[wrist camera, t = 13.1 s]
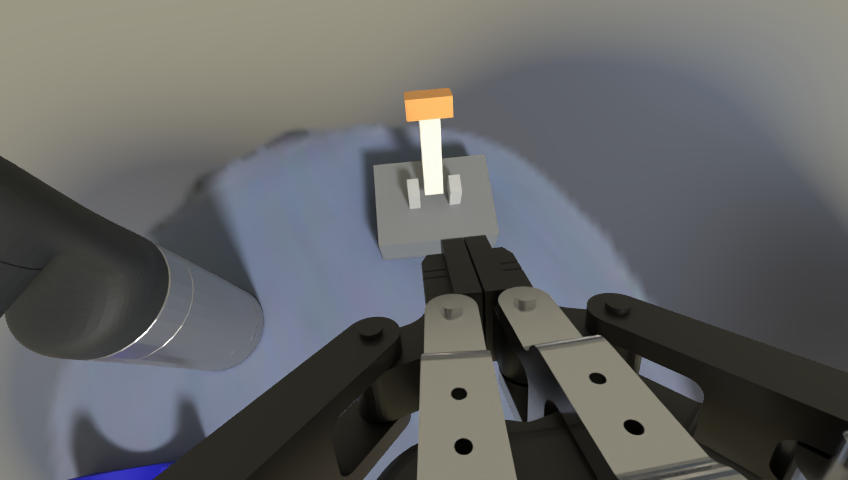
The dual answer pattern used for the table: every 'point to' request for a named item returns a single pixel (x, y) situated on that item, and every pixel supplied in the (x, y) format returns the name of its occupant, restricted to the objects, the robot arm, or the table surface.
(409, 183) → the block
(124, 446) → the table surface
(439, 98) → the lever
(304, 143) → the table surface
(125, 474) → the cable clip
